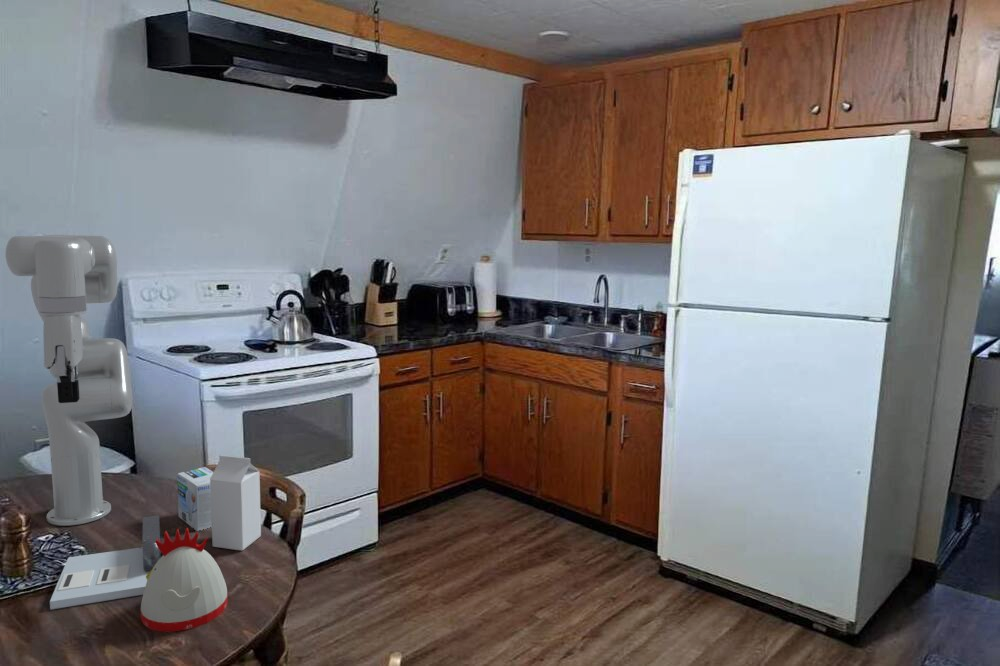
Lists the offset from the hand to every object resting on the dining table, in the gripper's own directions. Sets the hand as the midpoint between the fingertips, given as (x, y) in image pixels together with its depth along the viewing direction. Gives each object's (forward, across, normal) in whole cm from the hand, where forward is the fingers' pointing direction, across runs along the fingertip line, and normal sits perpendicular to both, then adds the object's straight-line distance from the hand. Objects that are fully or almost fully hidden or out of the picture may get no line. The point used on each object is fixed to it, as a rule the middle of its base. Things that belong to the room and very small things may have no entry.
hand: (69, 401), depth 129 cm
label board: (+33, +8, +6) cm, 34 cm away
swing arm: (+31, +4, +13) cm, 34 cm away
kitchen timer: (+33, +24, +20) cm, 46 cm away
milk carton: (+33, 0, +29) cm, 44 cm away
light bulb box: (+33, -14, +22) cm, 42 cm away
